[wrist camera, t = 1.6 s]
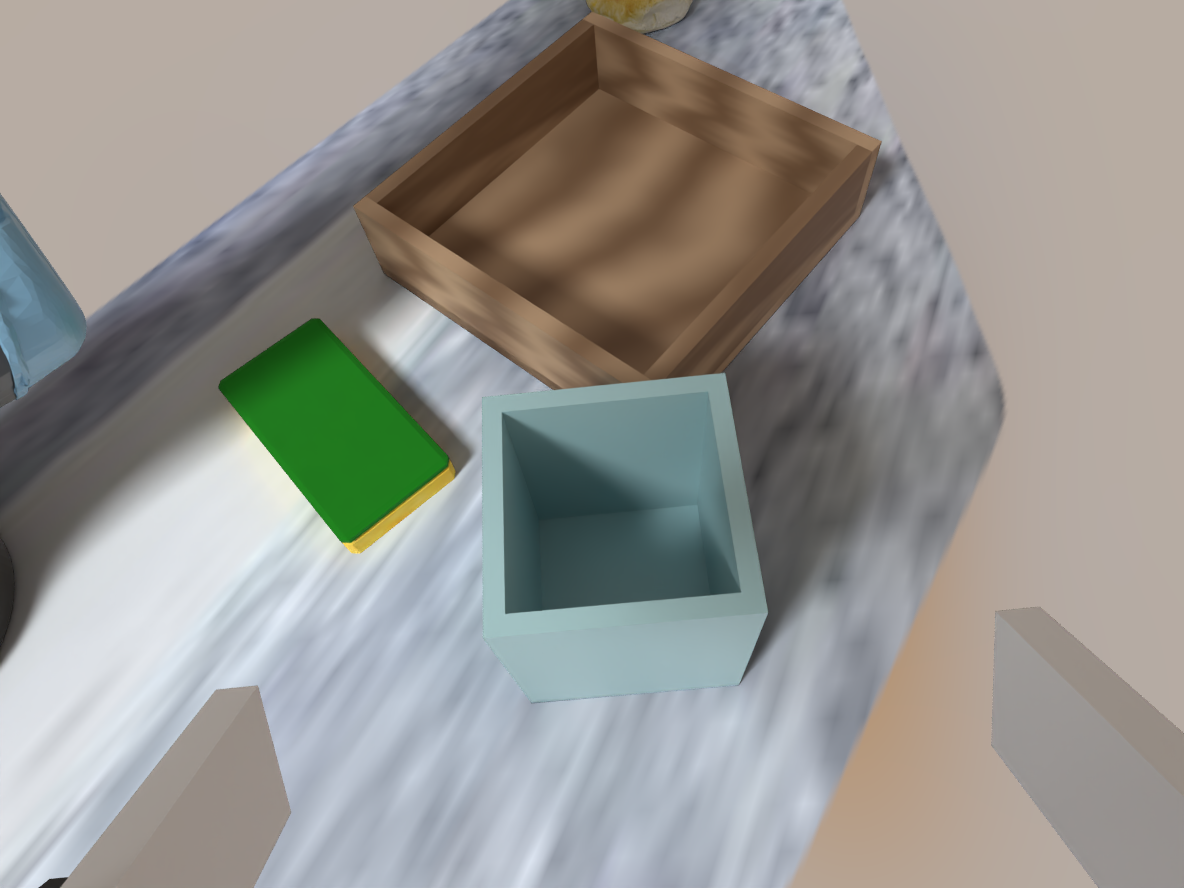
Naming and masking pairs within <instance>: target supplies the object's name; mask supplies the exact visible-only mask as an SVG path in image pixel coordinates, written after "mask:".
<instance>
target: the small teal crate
mask: <svg viewBox="0 0 1184 888" xmlns="http://www.w3.org/2000/svg"><path fill="white" fill-rule="evenodd" d="M482 533H483V639H484V640H485V642H486V643H487V644H488V646H489V647H490V648H491V650H492V651H493V652H494V654H495V655H496V656H497V658H498V659H499V660H500V662H501V663H502V664H503V666H504V667H505V668H506V670H507V671H508V672H509V674H510V675H511V676H512V678H513V679H514V680H515V682H516V683H517V684H518V686H519V687H520V688H521V690H522V691H523V692H524V694H525V695H526V696H527V698H528V699H529V700H530V702H531V703H540V702H551V701H563V700H574V699H586V698H597V697H609V696H620V695H632V694H643V693H655V692H667V691H678V690H690V689H701V688H713V687H724V686H736V685H739V684H740V681H741V679H742V676H743V674H744V671H745V669H746V666H747V664H748V661H749V659H750V656H751V654H752V652H753V649H754V647H755V644H756V642H757V639H758V637H759V634H760V632H761V629H762V627H763V624H764V622H765V619H766V617H767V614H768V609H767V603H766V598H765V592H764V586H763V581H762V575H761V570H760V564H759V559H758V553H757V547H756V542H755V536H754V531H753V525H752V520H751V514H750V508H749V503H748V497H747V492H746V486H745V481H744V475H743V469H742V464H741V458H740V453H739V447H738V442H737V436H736V430H735V425H734V419H733V414H732V408H731V402H730V397H729V391H728V386H727V380H726V375H725V373H719V374H709V375H699V376H689V377H679V378H669V379H659V380H649V381H640V382H630V383H620V384H610V385H600V386H590V387H580V388H570V389H560V390H550V391H540V392H530V393H520V394H510V395H500V396H490V397H482Z"/></svg>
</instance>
